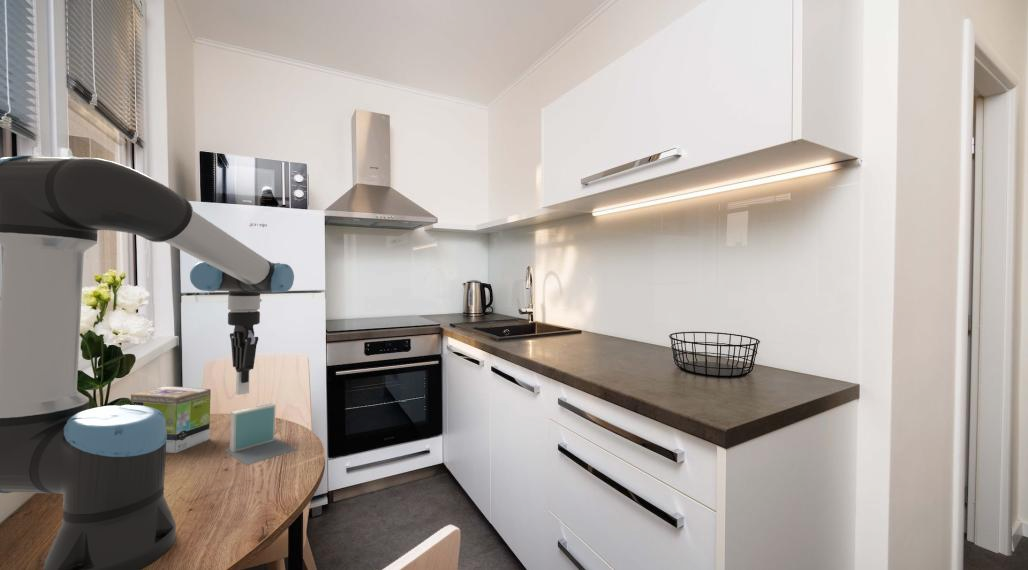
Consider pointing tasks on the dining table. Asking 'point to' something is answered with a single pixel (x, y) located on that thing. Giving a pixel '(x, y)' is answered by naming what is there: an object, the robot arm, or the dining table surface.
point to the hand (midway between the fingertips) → (242, 393)
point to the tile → (252, 427)
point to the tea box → (180, 414)
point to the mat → (261, 452)
